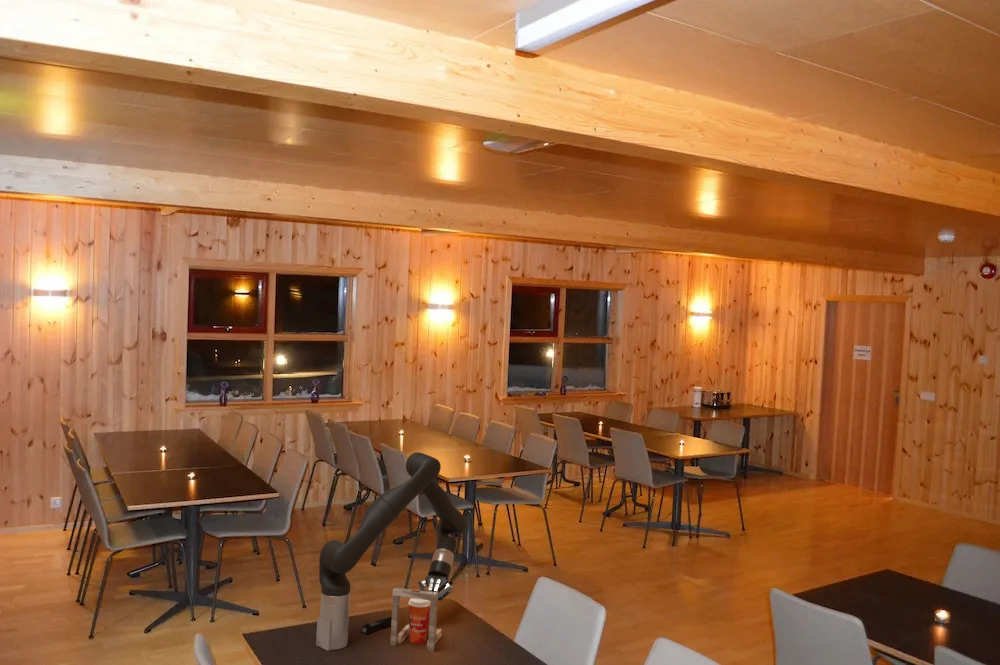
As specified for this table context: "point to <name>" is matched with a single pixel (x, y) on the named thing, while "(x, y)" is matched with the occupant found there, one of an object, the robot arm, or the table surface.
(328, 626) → the robot arm
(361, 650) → the table surface
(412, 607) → the paper cup
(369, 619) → the table surface
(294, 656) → the table surface
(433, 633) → the guide arch
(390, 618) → the electric trimmer
